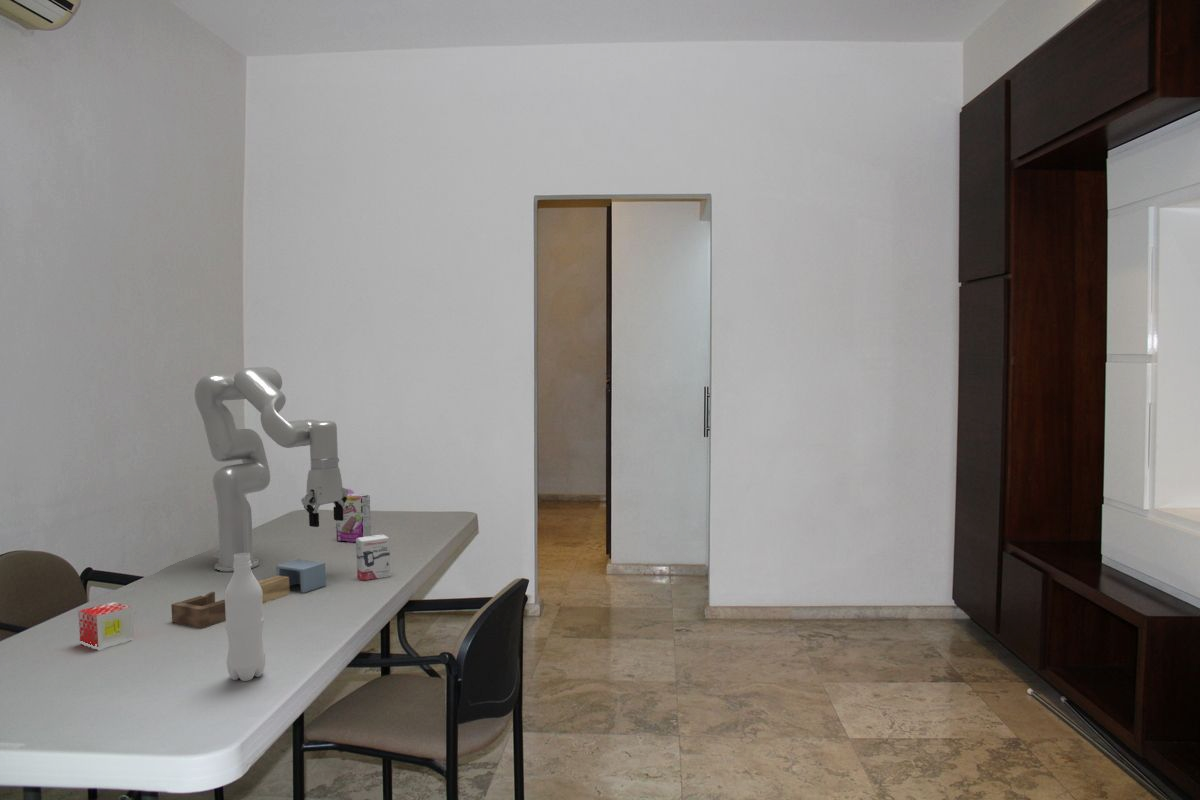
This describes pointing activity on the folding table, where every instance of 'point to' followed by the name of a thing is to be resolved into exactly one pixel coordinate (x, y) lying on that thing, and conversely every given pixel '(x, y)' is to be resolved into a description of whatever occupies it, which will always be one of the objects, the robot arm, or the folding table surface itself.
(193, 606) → the walnut end cap
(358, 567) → the ink box
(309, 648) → the folding table surface
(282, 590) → the oak slat
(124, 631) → the red and white box
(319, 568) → the blue end cap
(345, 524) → the candy bar box
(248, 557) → the water bottle
